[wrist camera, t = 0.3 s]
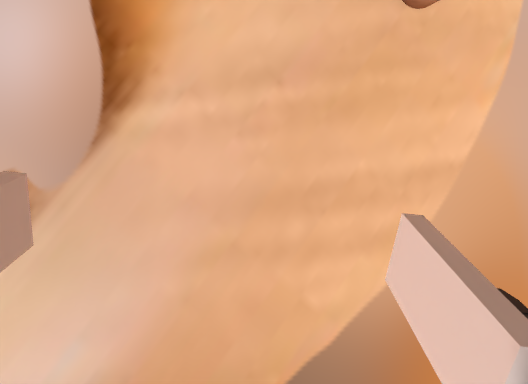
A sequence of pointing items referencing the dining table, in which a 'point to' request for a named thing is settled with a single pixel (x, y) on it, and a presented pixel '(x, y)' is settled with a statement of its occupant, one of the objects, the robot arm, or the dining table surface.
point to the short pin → (419, 3)
